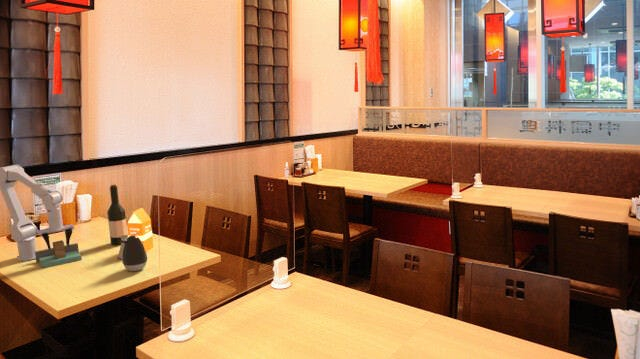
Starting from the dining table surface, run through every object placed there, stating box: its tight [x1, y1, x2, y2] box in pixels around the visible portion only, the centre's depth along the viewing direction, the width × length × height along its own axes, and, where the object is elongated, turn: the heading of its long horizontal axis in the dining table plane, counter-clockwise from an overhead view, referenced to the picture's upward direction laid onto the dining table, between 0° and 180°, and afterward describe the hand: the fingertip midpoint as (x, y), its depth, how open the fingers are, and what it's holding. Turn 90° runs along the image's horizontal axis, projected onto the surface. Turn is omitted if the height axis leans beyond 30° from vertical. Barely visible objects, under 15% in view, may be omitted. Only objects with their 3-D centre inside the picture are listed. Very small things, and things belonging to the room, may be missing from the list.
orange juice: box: [126, 207, 154, 253], centre depth 245 cm, size 8×9×20 cm
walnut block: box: [52, 240, 66, 259], centre depth 234 cm, size 4×4×7 cm
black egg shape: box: [121, 235, 148, 272], centre depth 220 cm, size 10×10×15 cm
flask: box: [117, 234, 128, 260], centre depth 237 cm, size 7×7×10 cm
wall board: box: [35, 243, 83, 269], centre depth 235 cm, size 12×18×5 cm, turn 127°
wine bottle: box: [106, 184, 128, 247], centre depth 256 cm, size 8×8×30 cm
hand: (58, 247), depth 234 cm, fingers open, 7 cm apart
